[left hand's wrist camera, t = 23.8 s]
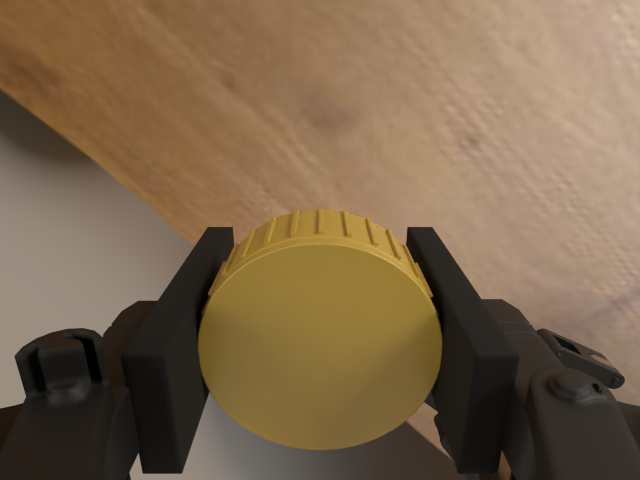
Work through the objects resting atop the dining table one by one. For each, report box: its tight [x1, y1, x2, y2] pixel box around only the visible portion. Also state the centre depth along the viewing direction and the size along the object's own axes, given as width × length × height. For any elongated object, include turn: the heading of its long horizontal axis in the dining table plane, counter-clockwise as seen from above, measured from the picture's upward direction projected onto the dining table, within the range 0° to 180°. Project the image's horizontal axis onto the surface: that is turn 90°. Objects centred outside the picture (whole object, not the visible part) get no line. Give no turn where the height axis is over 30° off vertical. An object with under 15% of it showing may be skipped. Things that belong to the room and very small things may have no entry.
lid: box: [198, 207, 443, 450], centre depth 11 cm, size 6×6×2 cm
